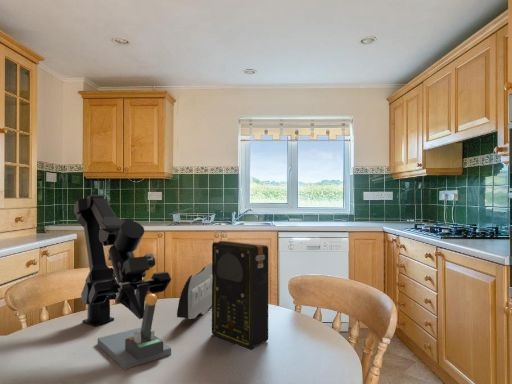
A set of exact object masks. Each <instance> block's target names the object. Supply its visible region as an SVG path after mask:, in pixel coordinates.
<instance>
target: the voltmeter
mask: <svg viewBox="0 0 512 384" xmlns="http://www.w3.org/2000/svg"><path fill="white" fill-rule="evenodd" d="M211 263H212V305H211V334H212V335H214V336H216V337H218V338H220V339H223V340H226V341H227V342H231V343H233V344H235V345H238V346H240V347H243V348H245V349H248V350H250V351H251V350H253V349H255V347H257V346H258V345H262V344H264V343H266V342H268V340H269V247H268V245H266V244H265V245H264V244H257V243H249V242H241V241H240V242H238V241H231V240H219V241H214V242H212V245H211Z"/></svg>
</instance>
